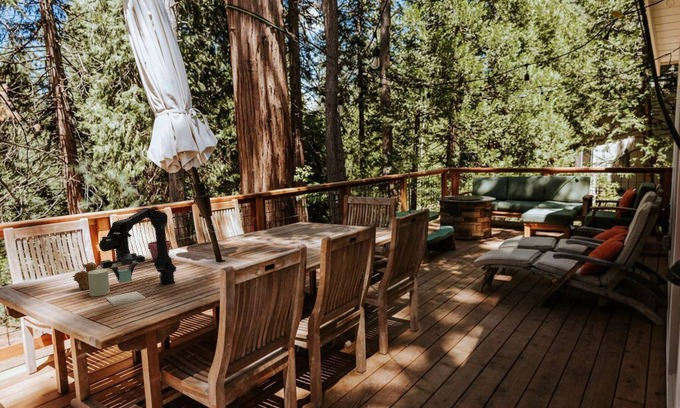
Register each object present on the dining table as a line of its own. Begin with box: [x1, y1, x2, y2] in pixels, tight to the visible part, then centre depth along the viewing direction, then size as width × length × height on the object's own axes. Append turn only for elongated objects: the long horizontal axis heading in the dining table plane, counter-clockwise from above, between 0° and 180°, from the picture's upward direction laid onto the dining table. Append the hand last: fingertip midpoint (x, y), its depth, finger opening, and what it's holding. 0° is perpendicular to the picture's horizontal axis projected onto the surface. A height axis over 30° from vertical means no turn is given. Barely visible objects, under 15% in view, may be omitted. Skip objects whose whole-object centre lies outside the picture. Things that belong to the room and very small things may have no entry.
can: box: [88, 268, 111, 297], centre depth 215 cm, size 9×9×12 cm
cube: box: [116, 268, 132, 284], centre depth 204 cm, size 5×5×5 cm
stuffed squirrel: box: [72, 261, 100, 290], centre depth 225 cm, size 10×14×13 cm
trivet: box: [105, 290, 146, 307], centre depth 205 cm, size 14×14×1 cm
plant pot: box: [147, 240, 172, 262], centre depth 285 cm, size 14×14×13 cm
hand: (124, 278), depth 204 cm, fingers closed on cube, 5 cm apart
